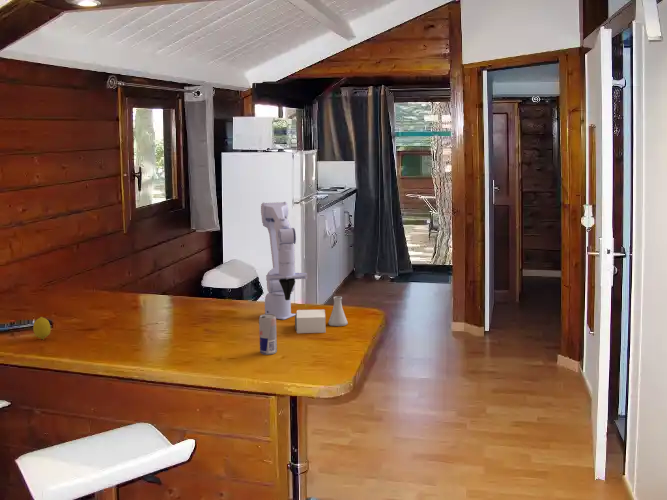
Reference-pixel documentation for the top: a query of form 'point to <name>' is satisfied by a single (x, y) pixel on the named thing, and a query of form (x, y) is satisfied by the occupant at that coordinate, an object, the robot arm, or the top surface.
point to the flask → (337, 314)
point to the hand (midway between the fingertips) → (287, 299)
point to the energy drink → (267, 334)
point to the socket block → (310, 321)
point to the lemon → (41, 328)
